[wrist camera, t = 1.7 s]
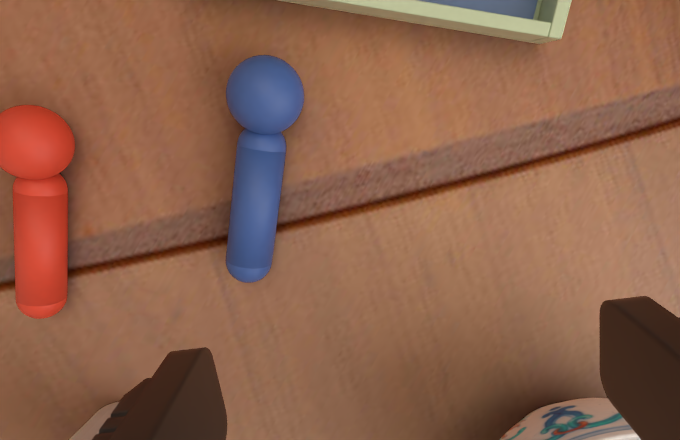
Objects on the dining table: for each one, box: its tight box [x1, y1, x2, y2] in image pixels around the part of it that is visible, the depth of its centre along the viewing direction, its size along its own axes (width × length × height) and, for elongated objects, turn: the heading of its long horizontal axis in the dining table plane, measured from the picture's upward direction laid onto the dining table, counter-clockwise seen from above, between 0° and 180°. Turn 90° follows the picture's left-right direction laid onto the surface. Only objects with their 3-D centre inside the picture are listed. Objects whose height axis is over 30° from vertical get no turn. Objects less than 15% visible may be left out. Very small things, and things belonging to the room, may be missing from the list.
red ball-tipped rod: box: [0, 105, 75, 319], centre depth 24 cm, size 12×4×4 cm, turn 171°
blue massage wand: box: [226, 55, 304, 283], centre depth 24 cm, size 12×4×4 cm, turn 171°
